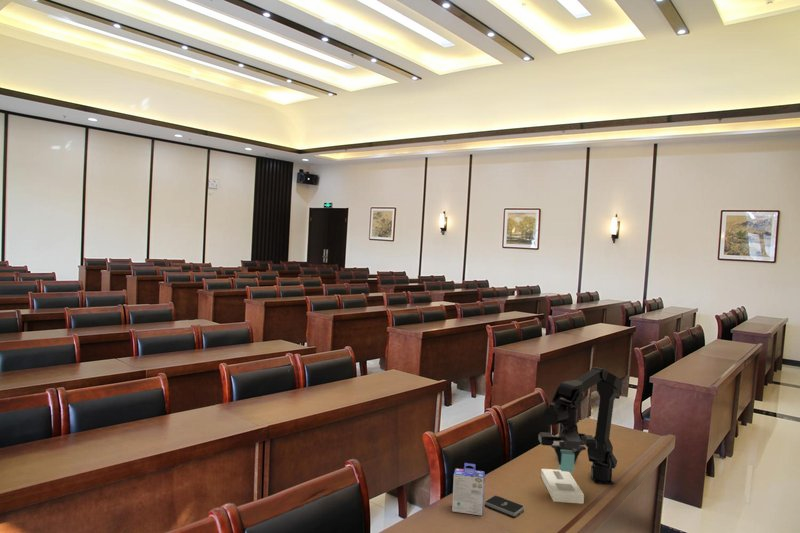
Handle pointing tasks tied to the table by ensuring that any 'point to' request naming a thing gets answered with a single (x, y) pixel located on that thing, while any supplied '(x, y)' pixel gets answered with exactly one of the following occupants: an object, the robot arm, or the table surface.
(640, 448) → the table surface
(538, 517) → the table surface
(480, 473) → the ink cartridge box
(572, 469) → the square peg
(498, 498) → the external hard drive
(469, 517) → the table surface
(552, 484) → the socket plate
